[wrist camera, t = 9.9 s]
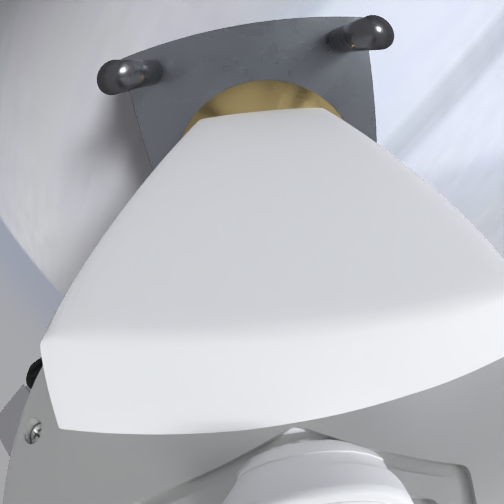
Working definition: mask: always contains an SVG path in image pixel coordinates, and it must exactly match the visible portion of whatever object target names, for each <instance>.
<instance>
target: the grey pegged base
mask: <svg viewBox="0 0 504 504" xmlns="http://www.w3.org/2000/svg"><path fill="white" fill-rule="evenodd" d="M393 40H394V32H393V29H392V27H391V25H390V24H389V23H388V22H387V21H386V20H385V19H383V18H382V17H379V16H375V15H370V16H366V17H364V18H363V17H308V18H293V19H281V20H272V21H264V22H257V23H250V24H244V25H238V26H233V27H227V28H222V29H218V30H213V31H209V32H204V33H200V34H196V35H192V36H189V37H185V38H181V39H178V40H174V41H171V42H168V43H165V44H161V45H158V46H155V47H152V48H149V49H146V50H144V51H141V52H138V53H135V54H133V55H130V56H128V57H125V58H123V59H122V60H111V61H109V62H107V63H105V64H104V65H103V66H102V67H101V68H100V70H99V72H98V75H97V84H98V87H99V88H100V90H101V91H102V92H103V93H105V94H108V95H115V94H119V93H122V92H126V91H130V95H131V98H132V102H133V106H134V109H135V113H136V116H137V120H138V123H139V127H140V130H141V134H142V137H143V140H144V144H145V147H146V150H147V153H148V157H149V160H150V163H151V166H152V169H153V170H154V169H155V168H156V167H157V166H158V165H159V163H160V162H161V161H162V160H163V159H164V158H165V156H166V155H167V154H168V153H169V152H170V151H171V150H172V149H173V147H174V146H175V145H176V144H177V143H178V142H179V141H180V140H181V139H182V138H183V136H184V135H185V134H186V133H187V132H188V131H189V130H190V129H191V128H192V127H193V126H194V125H195V124H196V123H197V122H198V121H199V120H201V119H205V118H211V117H217V116H224V115H232V114H240V113H248V112H258V111H269V110H281V109H297V108H324V109H326V110H327V111H329V112H331V113H332V114H334V115H335V116H337V117H339V118H340V119H342V120H343V121H345V122H346V123H348V124H350V125H351V126H353V127H354V128H356V129H357V130H359V131H360V132H362V133H363V134H364V135H366V136H367V137H369V138H370V139H372V140H373V141H374V142H376V143H377V138H376V118H375V104H374V92H373V82H372V73H371V64H370V57H369V50H381V49H386V48H388V47H389V46H390V45H391V44H392V43H393Z"/></svg>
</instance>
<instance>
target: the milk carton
mask: <svg viewBox="0 0 504 504" xmlns="http://www.w3.org/2000/svg"><path fill="white" fill-rule="evenodd" d="M40 348H41V356H42V362H43V368H44V373H45V378H46V382H47V387H48V391H49V395H50V399H51V402H52V406H53V410H54V413H55V417H56V420H57V423H58V426H59V428H60V429H66V430H76V431H87V432H100V433H117V434H196V433H216V432H229V431H240V430H249V429H257V428H265V427H271V426H278V425H284V424H290V423H296V422H302V421H307V420H313V419H318V418H323V417H328V416H333V415H338V414H342V413H346V412H350V411H355V410H359V409H362V408H366V407H370V406H374V405H377V404H381V403H384V402H388V401H391V400H394V399H398V398H401V397H404V396H407V395H410V394H414V393H417V392H420V391H423V390H426V389H429V388H432V387H435V386H438V385H441V384H443V383H446V382H449V381H451V380H454V379H456V378H459V377H461V376H463V375H466V374H468V373H470V372H473V371H475V370H477V369H479V368H481V367H484V366H486V365H488V364H490V363H492V362H494V361H496V360H498V359H500V358H502V357H504V259H503V258H502V257H501V256H500V254H499V253H498V252H497V251H496V250H495V248H494V247H493V246H492V245H491V244H490V243H489V242H488V241H487V239H486V238H485V237H484V236H483V235H482V234H481V233H480V232H479V231H478V230H477V229H476V228H475V227H474V226H473V225H472V224H471V223H470V222H469V221H468V220H467V219H466V218H465V217H464V216H463V215H462V214H461V213H460V212H459V211H458V210H457V209H456V208H455V207H454V206H453V205H452V204H451V203H450V202H449V201H447V200H446V199H445V198H444V197H443V196H442V195H441V194H440V193H439V192H438V191H436V190H435V189H434V188H433V187H432V186H431V185H429V184H428V183H427V182H426V181H425V180H424V179H422V178H421V177H420V176H419V175H418V174H416V173H415V172H414V171H413V170H411V169H410V168H409V167H408V166H406V165H405V164H404V163H403V162H401V161H400V160H399V159H397V158H396V157H395V156H394V155H392V154H391V153H390V152H388V151H387V150H386V149H384V148H383V147H381V146H380V145H379V144H377V143H376V142H374V141H373V140H372V139H370V138H369V137H367V136H366V135H364V134H363V133H362V132H360V131H359V130H357V129H356V128H354V127H353V126H351V125H350V124H348V123H346V122H345V121H343V120H342V119H340V118H339V117H337V116H335V115H334V114H332V113H331V112H329V111H327V110H326V109H324V108H297V109H281V110H269V111H258V112H248V113H240V114H232V115H224V116H217V117H211V118H205V119H201V120H199V121H198V122H197V123H196V124H195V125H194V126H193V127H192V128H191V129H190V130H189V131H188V132H187V133H186V134H185V135H184V136H183V138H182V139H181V140H180V141H179V142H178V143H177V144H176V145H175V146H174V147H173V149H172V150H171V151H170V152H169V153H168V154H167V155H166V156H165V158H164V159H163V160H162V161H161V162H160V163H159V165H158V166H157V167H156V168H155V169H154V170H153V172H152V173H151V174H150V175H149V176H148V178H147V179H146V180H145V181H144V183H143V184H142V185H141V186H140V188H139V189H138V190H137V191H136V193H135V194H134V195H133V196H132V198H131V199H130V200H129V201H128V203H127V204H126V205H125V207H124V208H123V209H122V211H121V212H120V213H119V215H118V216H117V217H116V219H115V220H114V221H113V223H112V224H111V226H110V227H109V228H108V230H107V231H106V233H105V234H104V235H103V237H102V238H101V240H100V241H99V243H98V244H97V245H96V247H95V248H94V250H93V251H92V253H91V254H90V256H89V257H88V259H87V260H86V262H85V263H84V265H83V267H82V268H81V270H80V271H79V273H78V275H77V276H76V278H75V279H74V281H73V283H72V284H71V286H70V288H69V289H68V291H67V293H66V295H65V296H64V298H63V300H62V302H61V303H60V305H59V307H58V309H57V311H56V312H55V314H54V316H53V318H52V320H51V322H50V324H49V326H48V328H47V330H46V332H45V335H44V337H43V339H42V342H41V343H40ZM303 431H305V430H302V429H299V428H293V429H290V430H289V431H287V432H286V433H284V434H283V435H285V434H292V433H298V432H303ZM295 442H300V443H294V444H291V443H293V442H291V443H288V444H284V445H280V446H276V447H272V448H271V449H270V450H268V451H266V452H263V453H261V454H258V455H256V456H254V457H252V458H250V459H249V460H247V461H246V462H245V463H244V464H243V465H241V466H240V467H239V469H238V471H237V472H236V474H238V473H240V472H241V473H240V474H239V475H238V476H237V478H238V479H237V482H236V483H235V485H234V487H233V488H232V490H231V491H230V493H229V494H228V496H227V498H226V499H225V500H224V502H223V503H222V504H414V503H413V501H412V499H411V497H410V496H409V494H408V492H407V491H406V489H405V487H404V486H403V484H402V482H401V481H400V480H399V479H398V478H397V477H396V476H395V475H394V474H393V473H392V472H391V471H389V470H388V469H387V468H388V467H387V466H386V465H385V463H384V462H383V460H384V459H383V458H382V457H381V456H379V455H378V454H377V453H375V452H374V451H372V450H370V449H367V448H364V447H361V446H358V445H355V444H352V443H349V442H345V441H341V440H330V439H329V440H321V439H314V438H306V439H302V440H299V441H295ZM386 467H387V468H386ZM236 474H235V475H236Z"/></svg>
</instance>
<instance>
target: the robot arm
mask: <svg viewBox="0 0 504 504" xmlns="http://www.w3.org/2000/svg"><path fill="white" fill-rule="evenodd" d="M26 381H27V386H24V385H22V386H21V388H20V389H19V390H18V391H17V392H16V394H15V395H14V396H13V397H12V399H11V400H10V401H9V402H8V404H7V405H6V406H5V407H4V409H3V410H2V412H1V413H0V439H1V441H2V443H3V445H4V447H5V449H6V451H7V452H8V454H9V456H10V460H9V465H8V470H7V476H6V483H5V489H4V498H3V504H222V503H223V502H224V500H225V499H226V498H227V496H228V494H229V493H230V491H231V490H232V488H233V487H234V485H235V483H236V482H237V479H238V478H237V476H238V475H239V474H240V473H241V472H240V473H238V474H236V472H237V471H238V469H239V467H240V466H241V465H243V464H244V463H245V462H246V461H247V460H249V459H250V458H252V457H254V456H256V455H258V454H261V453H263V452H266V451H268V450H270V449H271V448H272V447H276V446H280V445H284V444H288V443H291V442H293V443H291V444H294V443H300V442H295V441H299V440H302V439H306V438H314V439H321V440H329V439H330V440H341V441H345V442H349V443H352V444H355V445H358V446H361V447H364V448H367V449H370V450H372V451H374V452H375V453H377V454H378V455H379V456H381V457H382V458H383V459H384V460H383V462H384V463H385V465H386V466H387V467H388V468H387V467H386V468H387V469H388V470H389V471H391V472H392V473H393V474H394V475H395V476H396V477H397V478H398V479H399V480H400V481H401V482H402V484H403V486H404V487H405V489H406V491H407V492H408V494H409V496H410V497H411V499H412V501H413V503H414V504H504V357H502V358H500V359H498V360H496V361H494V362H492V363H490V364H488V365H486V366H484V367H481V368H479V369H477V370H475V371H473V372H470V373H468V374H466V375H463V376H461V377H459V378H456V379H454V380H451V381H449V382H446V383H443V384H441V385H438V386H435V387H432V388H429V389H426V390H423V391H420V392H417V393H414V394H410V395H407V396H404V397H401V398H398V399H394V400H391V401H388V402H384V403H381V404H377V405H374V406H370V407H366V408H362V409H359V410H355V411H350V412H346V413H342V414H338V415H333V416H328V417H323V418H318V419H313V420H307V421H302V422H296V423H290V424H284V425H278V426H271V427H265V428H257V429H249V430H240V431H229V432H216V433H196V434H117V433H100V432H87V431H76V430H66V429H60V428H59V426H58V423H57V420H56V417H55V413H54V410H53V406H52V402H51V399H50V395H49V391H48V387H47V382H46V378H45V373H44V368H43V362H42V357H41V358H40V359H38V360H37V361H36V362H34V363H33V364H32V365H31V366H30V368H29V371H28V373H27V377H26ZM293 428H299V429H302V430H305V431H303V432H298V433H292V434H285V435H283V434H284V433H286V432H287V431H289V430H290V429H293ZM235 474H236V475H235Z"/></svg>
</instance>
